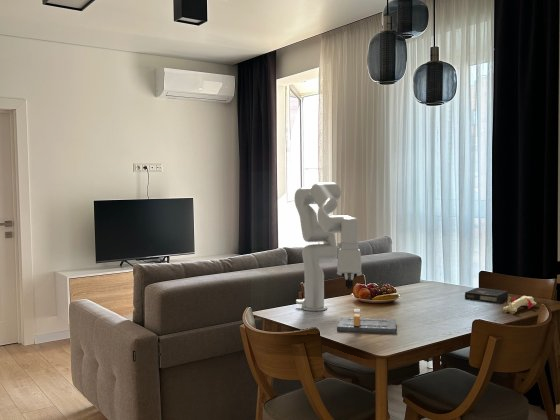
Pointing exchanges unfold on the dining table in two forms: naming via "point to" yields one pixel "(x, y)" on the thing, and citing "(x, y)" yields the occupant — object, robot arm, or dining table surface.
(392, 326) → the console
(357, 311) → the cream fader
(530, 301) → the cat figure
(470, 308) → the dining table surface
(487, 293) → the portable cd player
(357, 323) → the orange fader
